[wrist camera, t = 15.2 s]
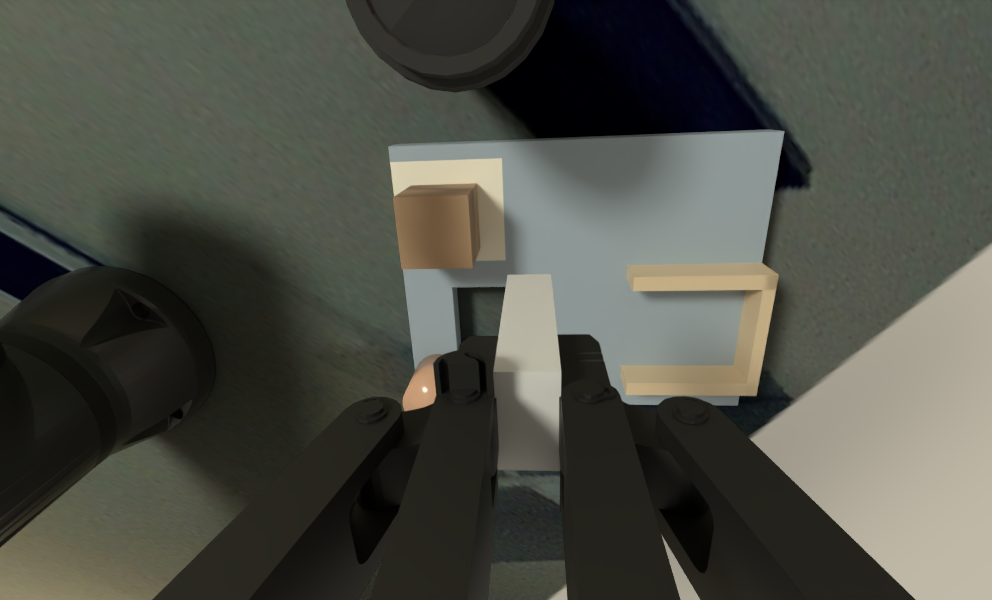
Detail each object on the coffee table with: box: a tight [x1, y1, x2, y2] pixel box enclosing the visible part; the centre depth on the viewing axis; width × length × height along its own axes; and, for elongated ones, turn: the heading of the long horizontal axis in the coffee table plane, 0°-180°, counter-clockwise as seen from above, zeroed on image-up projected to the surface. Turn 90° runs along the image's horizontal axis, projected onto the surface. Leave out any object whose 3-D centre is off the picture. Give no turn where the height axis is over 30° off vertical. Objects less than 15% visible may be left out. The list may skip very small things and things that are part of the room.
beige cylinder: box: [403, 354, 443, 411], centre depth 37 cm, size 4×4×4 cm
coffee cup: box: [346, 0, 554, 92], centre depth 24 cm, size 8×8×15 cm
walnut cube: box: [393, 183, 480, 269], centre depth 32 cm, size 4×4×4 cm
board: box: [388, 130, 784, 405], centre depth 35 cm, size 25×20×4 cm
